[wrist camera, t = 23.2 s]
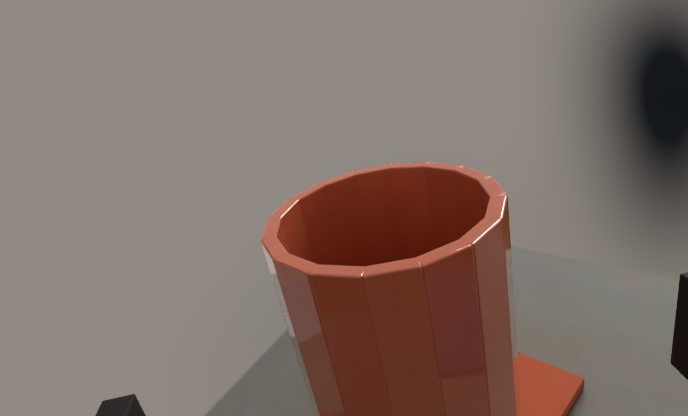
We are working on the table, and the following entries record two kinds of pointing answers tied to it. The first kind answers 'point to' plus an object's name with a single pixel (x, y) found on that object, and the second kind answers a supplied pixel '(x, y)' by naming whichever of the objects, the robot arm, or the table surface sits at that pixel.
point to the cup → (399, 291)
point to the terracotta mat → (546, 388)
